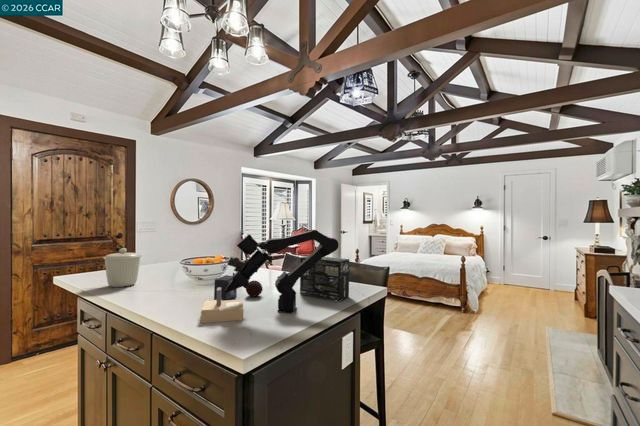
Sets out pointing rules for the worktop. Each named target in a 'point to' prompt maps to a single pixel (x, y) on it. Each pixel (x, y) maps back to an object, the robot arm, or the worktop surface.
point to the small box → (224, 283)
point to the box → (326, 279)
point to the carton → (224, 312)
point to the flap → (213, 303)
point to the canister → (122, 268)
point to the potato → (254, 288)
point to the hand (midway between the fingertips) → (225, 292)
